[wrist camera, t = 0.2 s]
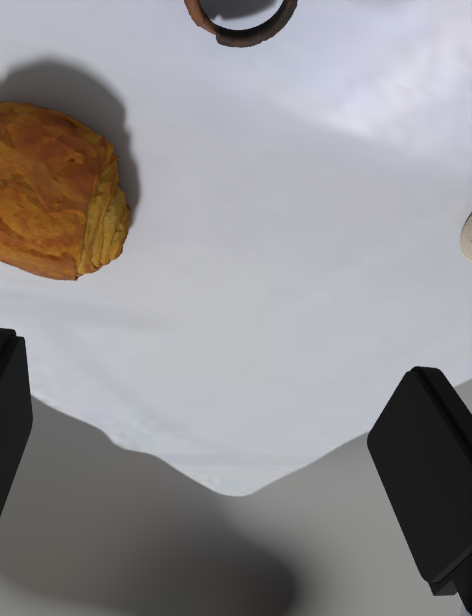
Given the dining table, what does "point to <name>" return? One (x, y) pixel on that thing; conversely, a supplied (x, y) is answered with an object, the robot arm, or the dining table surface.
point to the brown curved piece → (248, 35)
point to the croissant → (57, 194)
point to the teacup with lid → (467, 240)
